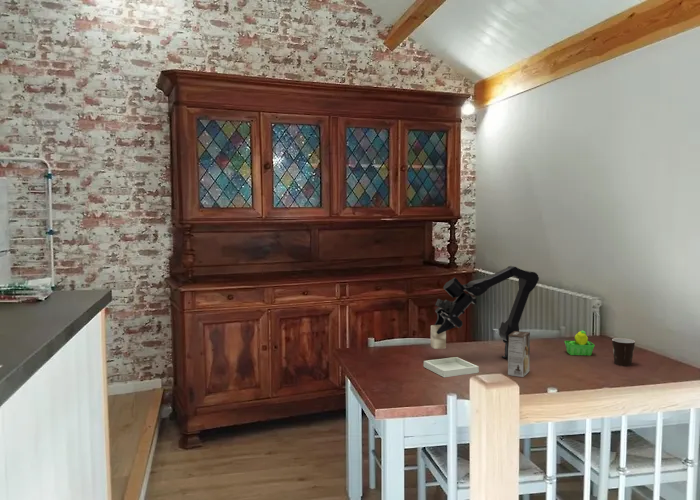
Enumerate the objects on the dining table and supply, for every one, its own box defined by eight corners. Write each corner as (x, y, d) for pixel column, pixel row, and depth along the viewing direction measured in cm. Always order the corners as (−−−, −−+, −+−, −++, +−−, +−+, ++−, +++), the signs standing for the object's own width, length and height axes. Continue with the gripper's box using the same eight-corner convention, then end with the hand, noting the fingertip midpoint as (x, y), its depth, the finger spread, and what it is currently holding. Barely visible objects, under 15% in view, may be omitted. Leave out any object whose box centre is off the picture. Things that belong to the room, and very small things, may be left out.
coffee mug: (615, 360, 237) (616, 337, 236) (637, 363, 231) (638, 340, 230) (605, 365, 229) (605, 341, 228) (627, 369, 223) (628, 345, 222)
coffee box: (513, 369, 225) (514, 330, 223) (529, 371, 221) (530, 332, 220) (507, 375, 217) (507, 334, 216) (523, 377, 213) (524, 336, 212)
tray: (478, 372, 220) (478, 366, 220) (444, 377, 214) (444, 371, 214) (456, 362, 235) (456, 356, 235) (423, 366, 229) (423, 360, 229)
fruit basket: (589, 352, 251) (589, 327, 250) (596, 357, 242) (596, 331, 242) (563, 351, 252) (564, 327, 252) (569, 356, 244) (569, 331, 243)
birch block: (441, 345, 237) (441, 324, 237) (445, 348, 232) (445, 327, 232) (430, 346, 236) (430, 325, 236) (434, 348, 231) (434, 327, 231)
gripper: (439, 289, 243) (415, 315, 241) (455, 295, 224) (429, 323, 223) (456, 306, 245) (432, 332, 243) (473, 313, 226) (447, 341, 225)
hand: (435, 331), depth 234 cm, fingers closed on birch block, 5 cm apart
